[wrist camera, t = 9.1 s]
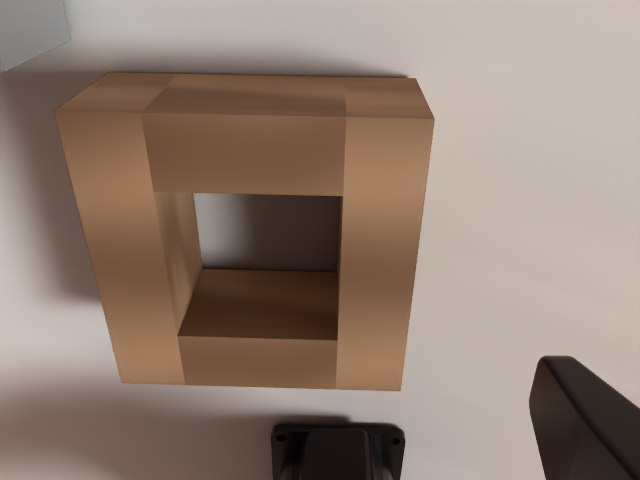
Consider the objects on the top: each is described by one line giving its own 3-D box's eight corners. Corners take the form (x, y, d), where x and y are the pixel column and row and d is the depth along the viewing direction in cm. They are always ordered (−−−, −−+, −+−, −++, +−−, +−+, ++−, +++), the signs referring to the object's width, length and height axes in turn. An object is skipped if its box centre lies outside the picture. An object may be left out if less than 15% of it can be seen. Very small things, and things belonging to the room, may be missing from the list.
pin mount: (390, 318, 23) (400, 391, 19) (153, 312, 23) (121, 383, 19) (415, 78, 17) (434, 118, 14) (108, 72, 18) (53, 110, 14)
